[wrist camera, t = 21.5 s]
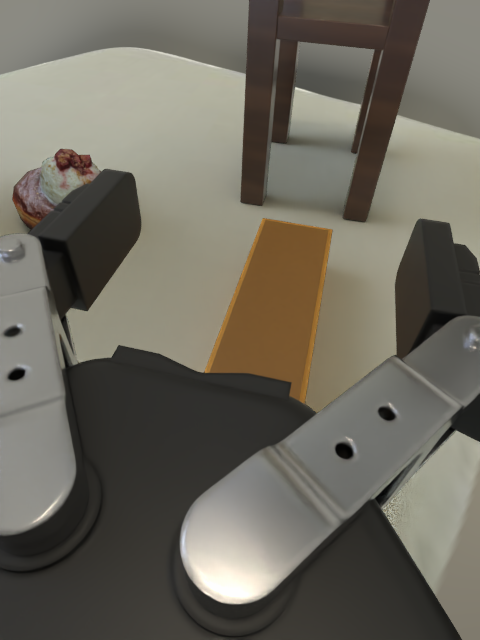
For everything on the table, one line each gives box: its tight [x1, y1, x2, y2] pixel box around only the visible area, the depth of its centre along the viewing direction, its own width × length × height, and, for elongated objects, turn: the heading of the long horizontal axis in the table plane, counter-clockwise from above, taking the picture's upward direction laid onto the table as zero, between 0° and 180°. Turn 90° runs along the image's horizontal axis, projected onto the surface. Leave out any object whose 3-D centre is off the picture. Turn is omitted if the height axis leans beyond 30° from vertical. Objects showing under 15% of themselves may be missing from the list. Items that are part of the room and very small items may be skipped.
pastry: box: [12, 149, 101, 230], centre depth 31 cm, size 8×8×5 cm
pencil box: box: [204, 218, 332, 404], centre depth 21 cm, size 22×4×3 cm, turn 166°
